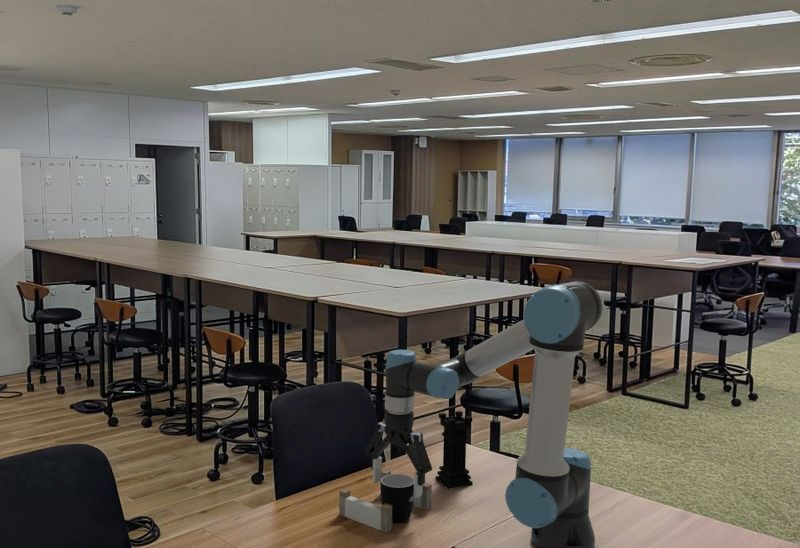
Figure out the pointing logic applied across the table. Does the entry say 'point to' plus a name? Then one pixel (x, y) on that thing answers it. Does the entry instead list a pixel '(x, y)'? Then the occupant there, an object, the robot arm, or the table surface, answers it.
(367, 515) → the chute
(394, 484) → the mug
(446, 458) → the chess piece
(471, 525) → the table surface
